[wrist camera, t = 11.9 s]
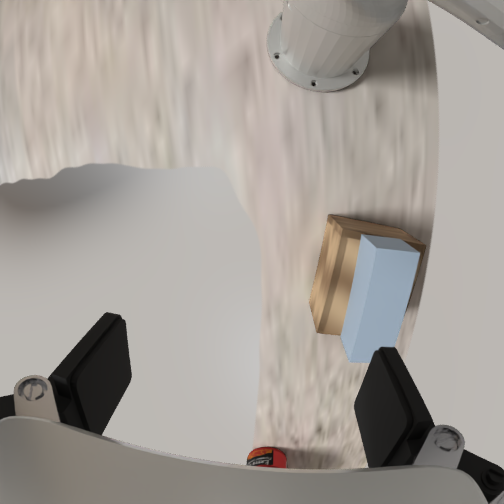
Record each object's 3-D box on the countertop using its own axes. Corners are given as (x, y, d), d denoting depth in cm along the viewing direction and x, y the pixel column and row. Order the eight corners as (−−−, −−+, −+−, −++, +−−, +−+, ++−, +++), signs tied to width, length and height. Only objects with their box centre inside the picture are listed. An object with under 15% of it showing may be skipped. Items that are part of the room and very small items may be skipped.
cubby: (328, 214, 39) (342, 228, 31) (399, 228, 39) (426, 245, 31) (309, 302, 42) (316, 332, 35) (376, 310, 42) (394, 340, 35)
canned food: (269, 441, 51) (269, 488, 40) (294, 458, 53) (297, 503, 42) (238, 454, 53) (233, 499, 42) (264, 471, 54) (262, 513, 44)
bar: (361, 234, 31) (376, 248, 26) (400, 238, 31) (420, 252, 26) (340, 336, 35) (349, 362, 30) (376, 338, 35) (388, 362, 30)
